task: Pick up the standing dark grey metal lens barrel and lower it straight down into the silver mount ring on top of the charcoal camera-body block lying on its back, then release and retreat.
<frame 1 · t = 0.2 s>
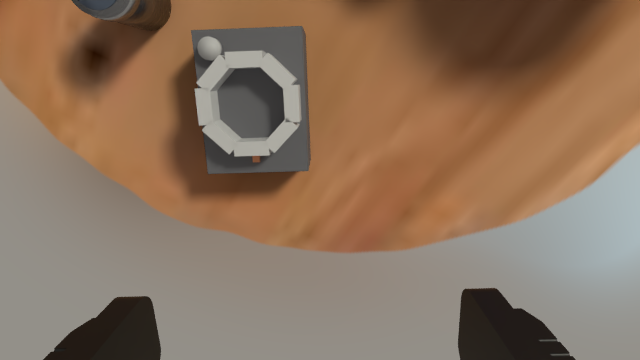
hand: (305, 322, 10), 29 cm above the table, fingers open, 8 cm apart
lens: (147, 4, 34), on the table
camera body: (262, 100, 36), on the table
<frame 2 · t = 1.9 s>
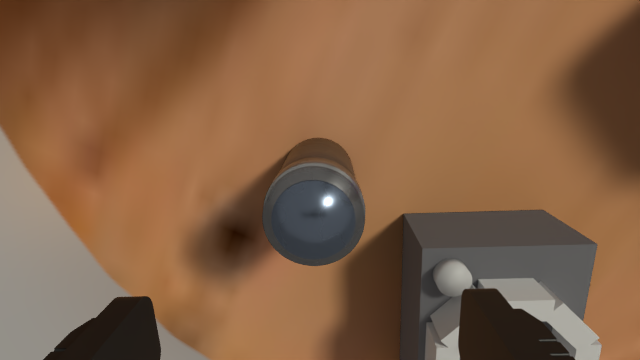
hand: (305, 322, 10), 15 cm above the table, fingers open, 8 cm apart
lens: (318, 172, 24), on the table
camera body: (466, 292, 26), on the table
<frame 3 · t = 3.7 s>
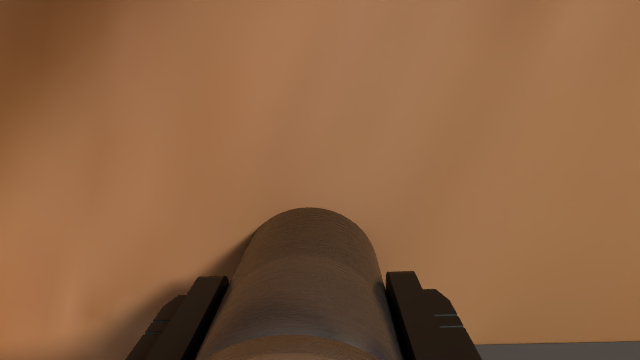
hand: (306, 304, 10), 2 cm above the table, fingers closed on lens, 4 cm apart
lens: (310, 270, 12), on the table, touching gripper
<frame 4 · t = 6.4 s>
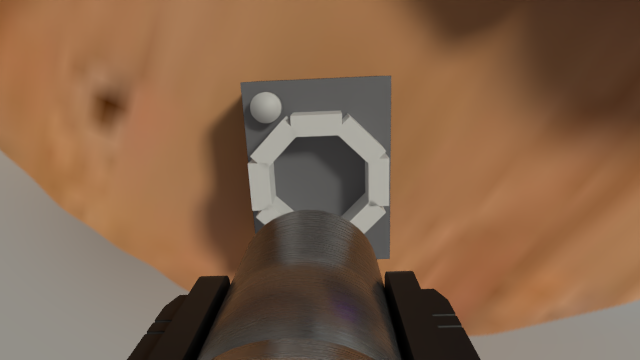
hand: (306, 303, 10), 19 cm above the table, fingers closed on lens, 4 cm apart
lens: (310, 272, 12), point 17 cm above the table, touching gripper
camera body: (320, 159, 28), on the table
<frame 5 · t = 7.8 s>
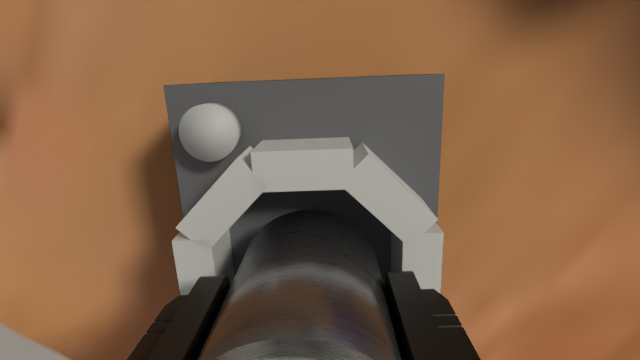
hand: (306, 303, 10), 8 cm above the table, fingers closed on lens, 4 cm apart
lens: (310, 272, 12), point 6 cm above the table, touching gripper
camera body: (315, 204, 18), on the table
when the fingers open (8 cm above the table, at t = 8.9 s): lens stays where it is, resting on camera body.
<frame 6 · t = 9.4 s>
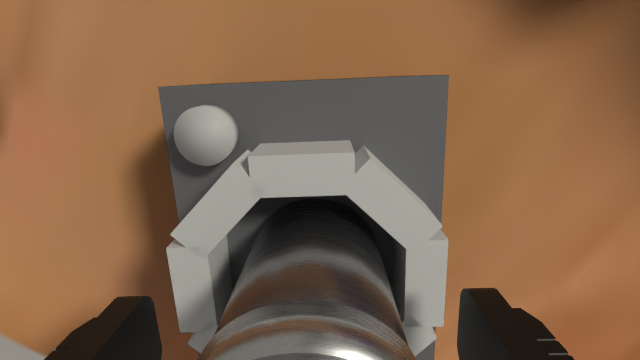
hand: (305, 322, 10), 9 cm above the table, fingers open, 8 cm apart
lens: (315, 257, 13), point 5 cm above the table, touching camera body
camera body: (315, 208, 18), on the table
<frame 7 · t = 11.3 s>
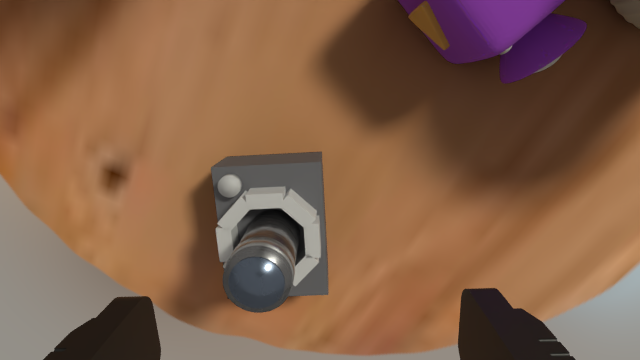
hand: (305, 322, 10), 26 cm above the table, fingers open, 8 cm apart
lens: (274, 233, 31), point 5 cm above the table, touching camera body
camera body: (279, 214, 36), on the table
toy camera: (470, 5, 32), on the table
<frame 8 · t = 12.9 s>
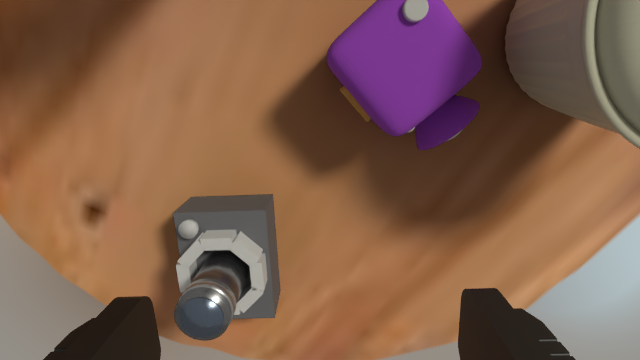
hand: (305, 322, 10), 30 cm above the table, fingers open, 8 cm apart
lens: (227, 267, 37), point 5 cm above the table, touching camera body
camera body: (237, 245, 42), on the table
toy camera: (398, 75, 37), on the table
canister: (564, 36, 36), on the table
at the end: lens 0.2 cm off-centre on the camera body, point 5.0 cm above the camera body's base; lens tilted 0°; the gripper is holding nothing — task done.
